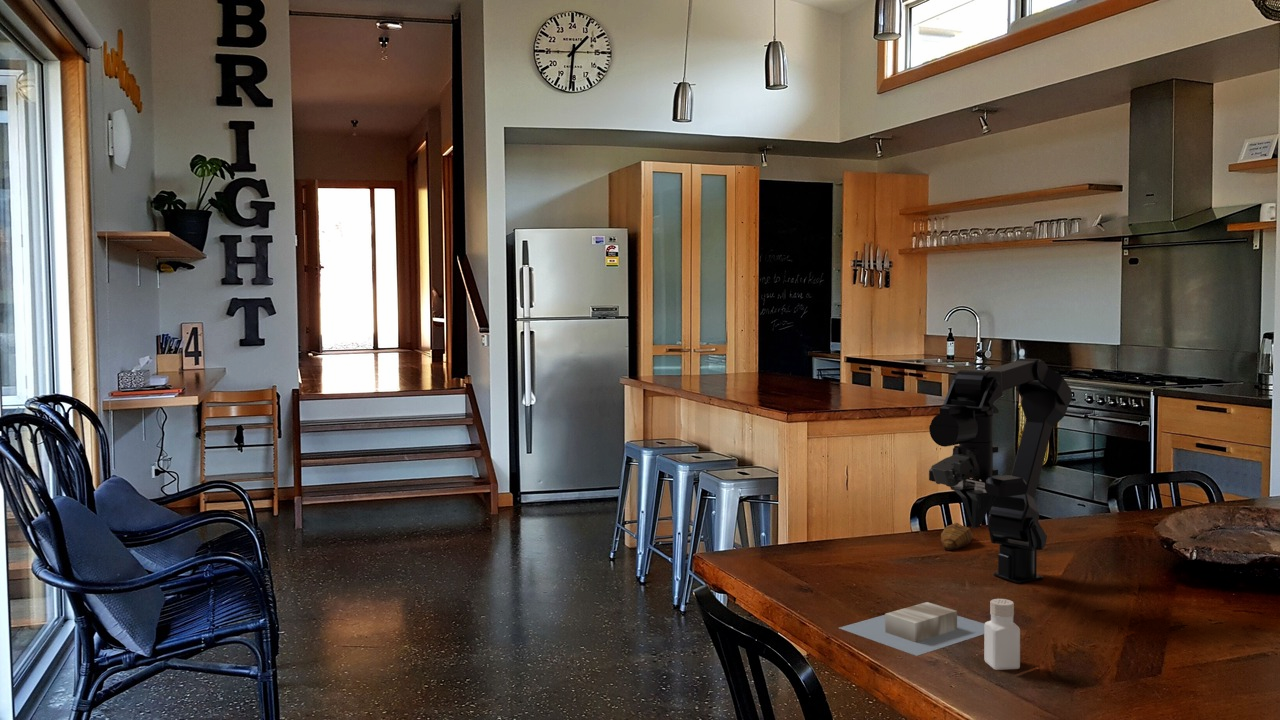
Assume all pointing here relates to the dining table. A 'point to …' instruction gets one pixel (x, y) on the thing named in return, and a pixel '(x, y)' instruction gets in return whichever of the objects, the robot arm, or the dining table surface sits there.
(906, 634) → the beige streaked block
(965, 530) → the croissant
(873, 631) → the mat
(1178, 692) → the dining table surface
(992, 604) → the pepper shaker
